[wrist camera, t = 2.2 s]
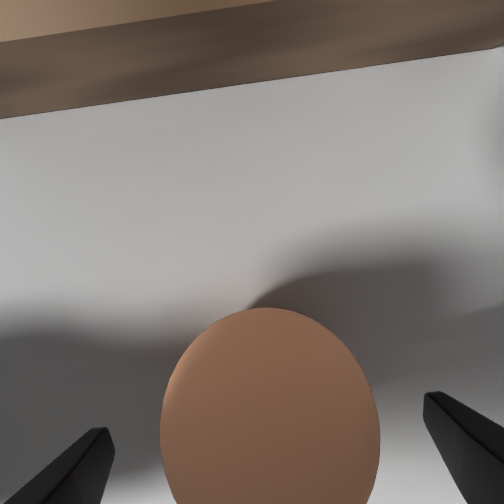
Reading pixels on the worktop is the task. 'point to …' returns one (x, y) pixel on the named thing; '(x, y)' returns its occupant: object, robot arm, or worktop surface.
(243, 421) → the ball
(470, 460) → the robot arm
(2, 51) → the fence
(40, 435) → the worktop surface
